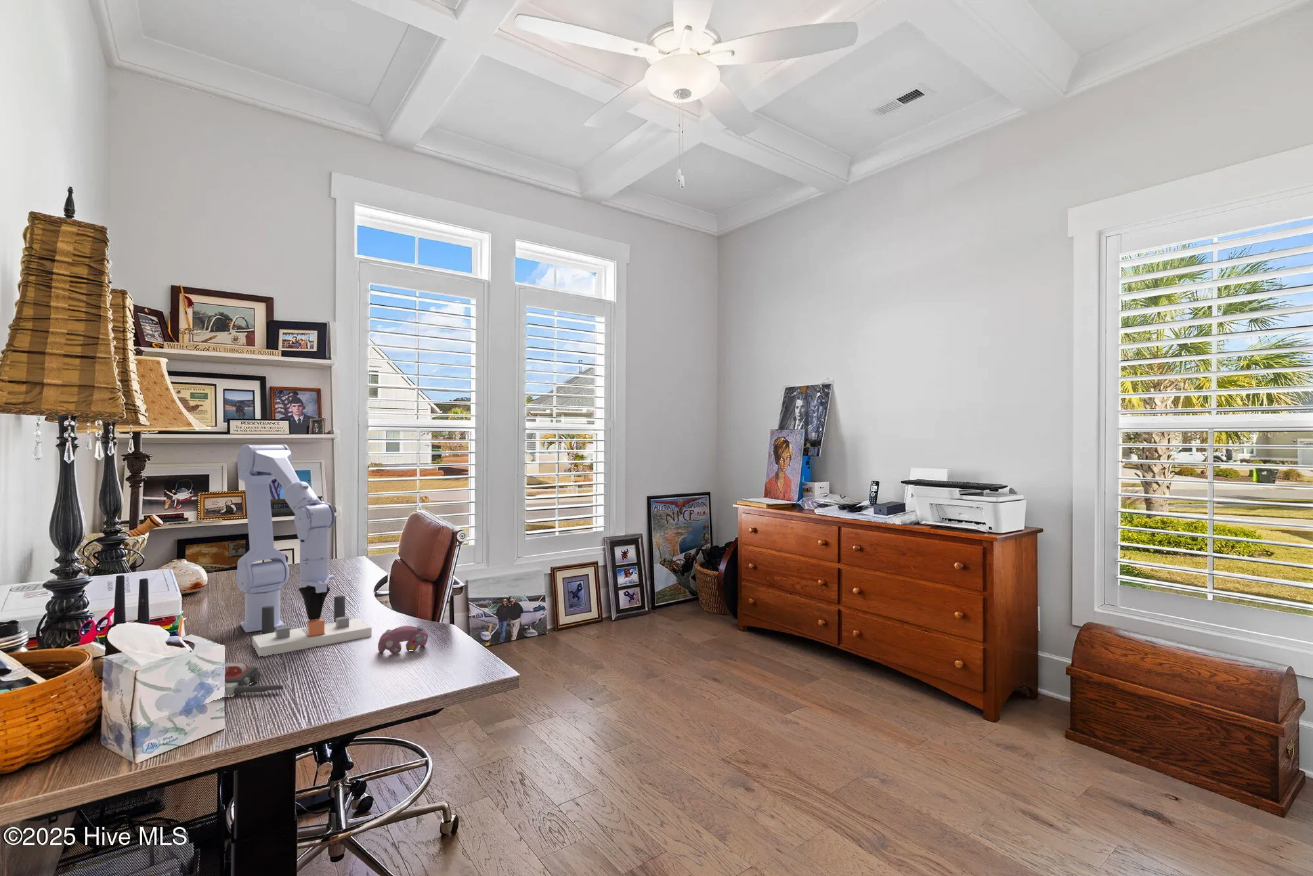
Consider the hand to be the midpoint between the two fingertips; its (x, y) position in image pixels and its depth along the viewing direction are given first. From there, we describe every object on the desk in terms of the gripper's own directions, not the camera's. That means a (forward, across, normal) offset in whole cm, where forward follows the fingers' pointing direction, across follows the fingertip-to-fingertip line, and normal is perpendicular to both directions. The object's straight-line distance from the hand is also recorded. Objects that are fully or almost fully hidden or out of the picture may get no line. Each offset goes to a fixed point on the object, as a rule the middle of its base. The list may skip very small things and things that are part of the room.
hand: (314, 618), depth 141 cm
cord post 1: (+5, +10, +8) cm, 13 cm away
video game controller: (+5, -20, -13) cm, 24 cm away
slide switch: (+3, -2, 0) cm, 3 cm away
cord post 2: (+5, +10, -8) cm, 13 cm away
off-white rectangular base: (+5, +1, 0) cm, 5 cm away
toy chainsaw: (+6, -20, +17) cm, 27 cm away
